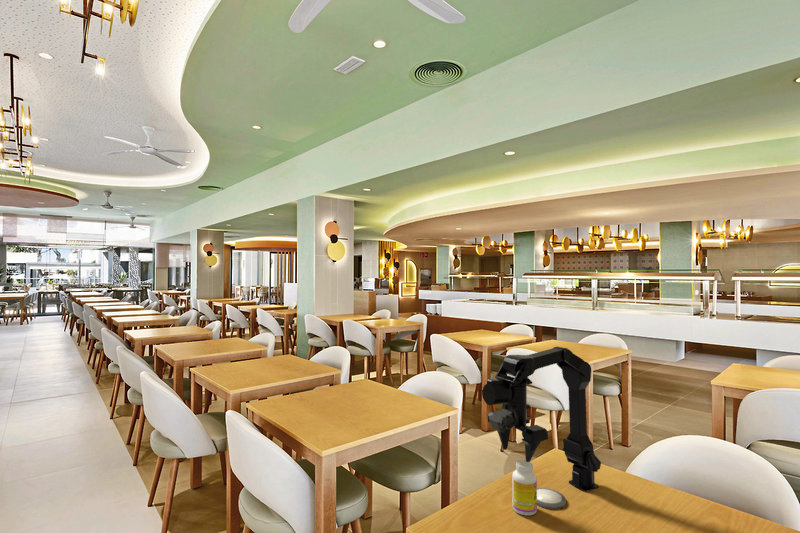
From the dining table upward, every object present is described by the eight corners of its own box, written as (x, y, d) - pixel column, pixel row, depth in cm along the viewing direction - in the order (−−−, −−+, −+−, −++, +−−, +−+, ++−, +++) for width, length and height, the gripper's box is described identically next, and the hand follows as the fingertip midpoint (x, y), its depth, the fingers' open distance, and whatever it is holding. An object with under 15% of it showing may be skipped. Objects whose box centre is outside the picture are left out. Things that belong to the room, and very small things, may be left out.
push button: (546, 488, 129) (546, 484, 129) (573, 503, 120) (573, 499, 120) (522, 495, 124) (522, 492, 124) (548, 512, 115) (548, 508, 115)
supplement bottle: (538, 518, 113) (538, 470, 113) (513, 515, 114) (513, 468, 114) (535, 505, 119) (535, 459, 120) (511, 502, 120) (511, 457, 121)
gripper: (473, 395, 123) (473, 448, 123) (518, 413, 107) (518, 475, 106) (502, 391, 128) (502, 442, 128) (549, 408, 112) (549, 466, 111)
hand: (516, 455), depth 118 cm, fingers open, 9 cm apart
